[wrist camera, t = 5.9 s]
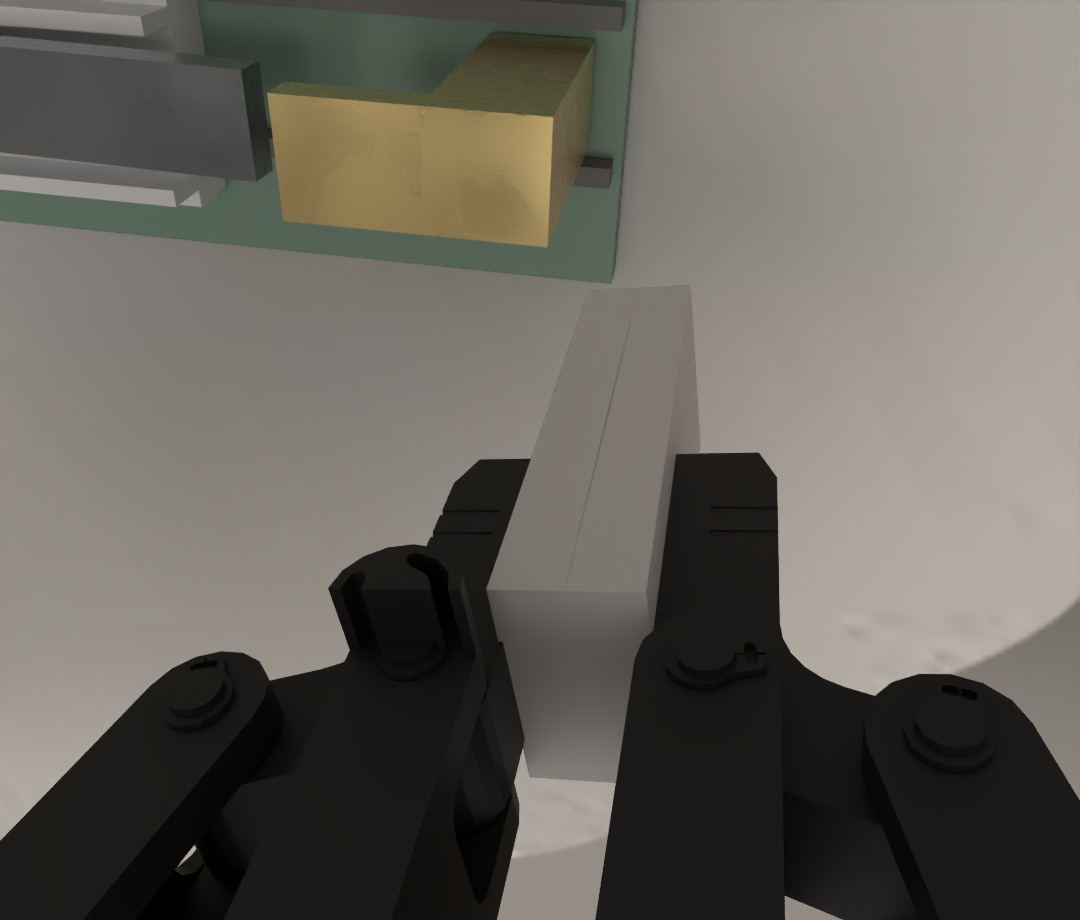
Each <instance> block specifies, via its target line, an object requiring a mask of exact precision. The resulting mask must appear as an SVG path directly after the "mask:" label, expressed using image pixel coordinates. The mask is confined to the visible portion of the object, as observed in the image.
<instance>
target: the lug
mask: <svg viewBox="0 0 1080 920" xmlns="http://www.w3.org/2000/svg"><path fill="white" fill-rule="evenodd" d="M595 41H596V40H593V39H579V38H566V37H553V36H539V35H526V34H512V33H499V32H491V33H490V34H489V35H488V36H487V37H486V38H485V39H484V40H483V41H482V42H481V43H480V44H479V45H478V46H477V47H476V48H475V49H474V50H473V51H472V52H471V53H470V54H469V55H468V56H467V57H466V58H465V59H464V60H463V61H462V62H461V63H460V64H459V65H458V66H457V67H456V68H455V69H454V70H453V71H452V72H451V73H450V74H449V75H448V76H447V78H446V79H445V80H444V81H443V82H442V83H441V84H440V85H439V86H438V87H437V88H436V89H435V90H434V91H433V92H432V93H431V94H425V93H413V92H401V91H389V90H377V89H364V88H352V87H340V86H328V85H316V84H304V83H292V82H283V83H282V84H280V85H279V86H277V87H276V88H274V89H273V90H271V91H270V92H268V93H267V95H268V103H269V111H270V119H271V127H272V135H273V144H274V152H275V160H276V168H277V176H278V184H279V192H280V200H281V209H282V217H283V221H288V222H298V223H308V224H318V225H328V226H338V227H348V228H358V229H368V230H378V231H388V232H398V233H408V234H418V235H428V236H438V237H448V238H458V239H468V240H478V241H488V242H498V243H508V244H518V245H528V246H538V247H548V245H549V243H550V240H551V238H552V235H553V233H554V230H555V228H556V226H557V223H558V221H559V218H560V216H561V213H562V211H563V208H564V206H565V203H566V201H567V199H568V196H569V194H570V191H571V189H572V186H573V184H574V181H575V179H576V176H577V174H578V171H579V169H580V167H581V164H582V162H583V159H584V157H585V154H586V152H587V149H588V147H589V134H590V118H591V103H592V87H593V72H594V56H595Z"/></svg>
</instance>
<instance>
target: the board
mask: <svg viewBox="0 0 1080 920" xmlns="http://www.w3.org/2000/svg"><path fill="white" fill-rule="evenodd" d="M637 7H638V0H0V36H8V37H19V38H29V39H40V40H50V41H61V42H71V43H82V44H92V45H103V46H113V47H123V48H134V49H144V50H155V51H165V52H176V53H186V54H197V55H207V56H218V57H228V58H239V59H249V60H259V62H260V70H261V78H262V86H263V94H264V102H265V110H266V118H267V126H268V134H269V142H270V150H271V158H272V166H273V170H272V171H271V172H270V173H268V174H267V175H265V176H264V177H263V178H261V179H260V180H259V181H257V182H250V181H242V180H233V179H225V178H216V177H208V176H199V175H190V174H182V173H173V172H165V171H156V170H148V169H139V168H130V167H122V166H113V165H105V164H96V163H88V162H79V161H71V160H62V159H53V158H45V157H36V156H28V155H19V154H11V153H2V152H0V221H10V222H20V223H29V224H39V225H49V226H58V227H68V228H78V229H87V230H97V231H107V232H116V233H126V234H136V235H145V236H155V237H165V238H174V239H184V240H194V241H203V242H213V243H222V244H232V245H242V246H251V247H261V248H271V249H280V250H290V251H300V252H309V253H319V254H329V255H338V256H348V257H358V258H367V259H377V260H387V261H396V262H406V263H416V264H425V265H435V266H445V267H454V268H464V269H474V270H483V271H493V272H502V273H512V274H522V275H531V276H541V277H551V278H560V279H570V280H580V281H589V282H599V283H609V284H611V283H612V279H613V275H614V271H615V262H616V251H617V239H618V227H619V216H620V204H621V193H622V181H623V169H624V158H625V146H626V135H627V123H628V112H629V100H630V88H631V77H632V65H633V54H634V42H635V30H636V19H637ZM491 32H499V33H512V34H526V35H539V36H553V37H566V38H579V39H593V40H596V41H595V56H594V72H593V87H592V103H591V118H590V134H589V147H588V149H587V152H586V154H585V157H584V159H583V162H582V164H581V167H580V169H579V171H578V174H577V176H576V179H575V181H574V184H573V186H572V189H571V191H570V194H569V196H568V199H567V201H566V203H565V206H564V208H563V211H562V213H561V216H560V218H559V221H558V223H557V226H556V228H555V230H554V233H553V235H552V238H551V240H550V243H549V245H548V247H538V246H528V245H518V244H508V243H498V242H488V241H478V240H468V239H458V238H448V237H438V236H428V235H418V234H408V233H398V232H388V231H378V230H368V229H358V228H348V227H338V226H328V225H318V224H308V223H298V222H288V221H283V217H282V209H281V200H280V192H279V184H278V176H277V168H276V160H275V152H274V144H273V135H272V127H271V119H270V111H269V103H268V95H267V93H268V92H270V91H271V90H273V89H274V88H276V87H277V86H279V85H280V84H282V83H283V82H292V83H304V84H316V85H328V86H340V87H352V88H364V89H377V90H389V91H401V92H413V93H425V94H431V93H432V92H433V91H434V90H435V89H436V88H437V87H438V86H439V85H440V84H441V83H442V82H443V81H444V80H445V79H446V78H447V76H448V75H449V74H450V73H451V72H452V71H453V70H454V69H455V68H456V67H457V66H458V65H459V64H460V63H461V62H462V61H463V60H464V59H465V58H466V57H467V56H468V55H469V54H470V53H471V52H472V51H473V50H474V49H475V48H476V47H477V46H478V45H479V44H480V43H481V42H482V41H483V40H484V39H485V38H486V37H487V36H488V35H489V34H490V33H491Z"/></svg>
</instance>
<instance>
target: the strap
mask: <svg viewBox="0 0 1080 920" xmlns="http://www.w3.org/2000/svg"><path fill="white" fill-rule="evenodd" d="M0 152H2V153H11V154H19V155H28V156H36V157H45V158H53V159H62V160H71V161H79V162H88V163H96V164H105V165H113V166H122V167H130V168H139V169H148V170H156V171H165V172H173V173H182V174H190V175H199V176H208V177H216V178H225V179H233V180H242V181H250V182H257V181H259V180H260V179H261V178H263V177H264V176H265V175H267V174H268V173H270V172H271V171H272V170H273V166H272V158H271V150H270V142H269V134H268V126H267V118H266V110H265V102H264V94H263V86H262V78H261V70H260V62H259V60H249V59H239V58H228V57H218V56H207V55H197V54H186V53H176V52H165V51H155V50H144V49H134V48H123V47H113V46H103V45H92V44H82V43H71V42H61V41H50V40H40V39H29V38H19V37H8V36H0Z"/></svg>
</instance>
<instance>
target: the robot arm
mask: <svg viewBox="0 0 1080 920" xmlns="http://www.w3.org/2000/svg"><path fill="white" fill-rule="evenodd" d="M699 450H700V431H699V415H698V399H697V383H696V368H695V352H694V336H693V320H692V305H691V289H690V285H682V286H664V287H646V288H628V289H610V290H592V291H588V293H587V296H586V299H585V302H584V305H583V308H582V311H581V313H580V316H579V319H578V322H577V325H576V328H575V331H574V334H573V337H572V340H571V343H570V346H569V349H568V352H567V355H566V357H565V360H564V363H563V366H562V369H561V372H560V375H559V378H558V381H557V384H556V387H555V390H554V393H553V396H552V399H551V401H550V404H549V407H548V410H547V413H546V416H545V419H544V422H543V425H542V428H541V431H540V434H539V437H538V440H537V443H536V445H535V448H534V451H533V454H532V457H531V459H486V460H479V461H478V462H477V463H476V464H474V465H473V466H472V467H471V468H470V469H469V470H468V471H467V472H466V473H465V474H464V475H463V476H461V477H460V478H459V479H458V480H457V481H456V482H455V483H454V485H453V487H452V489H451V492H450V494H449V496H448V498H447V501H446V503H445V505H444V508H443V515H440V517H439V519H438V521H437V524H436V526H435V528H434V530H433V537H430V540H429V542H428V544H427V546H421V545H414V544H413V545H404V546H396V547H388V548H385V549H383V550H380V551H377V552H375V553H372V554H369V555H366V556H364V557H362V558H361V559H359V560H358V561H356V562H355V563H353V564H352V565H350V566H349V567H347V568H346V569H344V570H343V571H342V572H341V573H340V574H339V576H338V577H337V578H336V579H335V580H334V582H333V583H332V584H331V585H330V587H329V588H328V589H329V592H330V595H331V598H332V600H333V603H334V606H335V609H336V612H337V615H338V617H339V620H340V623H341V626H342V629H343V632H344V635H345V637H346V640H347V643H348V646H349V649H350V651H349V653H348V656H347V658H346V660H345V662H343V663H340V664H337V665H334V666H331V667H327V668H324V669H321V670H316V671H312V672H307V673H302V674H298V675H293V676H289V677H284V678H280V679H275V680H271V681H269V679H268V676H267V674H266V672H265V671H264V669H263V667H262V665H261V663H260V662H259V661H258V660H256V659H254V658H252V657H250V656H248V655H246V654H244V653H237V652H223V651H221V652H216V653H212V654H207V655H203V656H198V657H195V658H193V659H191V660H189V661H187V662H185V663H183V664H181V665H178V666H176V667H174V668H172V669H171V670H170V671H168V672H167V673H166V674H165V675H163V676H162V677H161V678H160V679H158V680H157V681H156V682H155V683H153V684H152V685H151V686H150V687H149V688H148V689H147V690H146V691H145V692H144V693H143V694H142V695H141V696H140V697H139V698H138V699H137V700H136V701H135V702H134V703H133V704H132V705H131V706H130V707H129V709H128V710H127V711H126V712H125V713H124V714H123V715H122V716H121V717H120V718H119V719H118V720H117V721H116V722H115V723H114V724H113V725H112V726H111V727H110V728H109V729H108V730H107V731H106V732H105V733H104V734H103V735H102V736H101V737H100V738H99V740H98V741H97V742H96V743H95V744H94V745H93V746H92V747H91V748H90V749H89V750H88V751H87V752H86V753H85V754H84V755H83V756H82V757H81V758H80V759H79V760H78V761H77V762H76V763H75V764H74V765H73V766H72V767H71V768H70V769H69V770H68V772H67V773H66V774H65V775H64V776H63V777H62V778H61V779H60V780H59V781H58V782H57V783H56V784H55V785H54V786H53V787H52V788H51V789H50V790H49V791H48V792H47V793H46V794H45V795H44V796H43V797H42V798H41V799H40V800H39V801H38V802H37V804H36V805H35V806H34V807H33V808H32V809H31V810H30V811H29V812H28V813H27V814H26V815H25V816H24V817H23V818H22V819H21V820H20V821H19V822H18V823H17V824H16V825H15V826H14V827H13V828H12V829H11V830H10V831H9V832H8V833H7V834H6V836H5V837H4V838H3V839H2V840H1V841H0V920H497V916H498V912H499V908H500V904H501V899H502V895H503V891H504V886H505V882H506V878H507V873H508V869H509V865H510V860H511V856H512V852H513V847H514V843H515V838H516V834H517V830H518V825H519V801H518V797H517V793H516V789H515V785H514V780H515V776H516V772H517V768H518V764H519V760H520V756H521V752H522V748H523V750H524V754H525V758H526V763H527V767H528V771H529V776H530V777H535V778H550V779H566V780H581V781H596V782H612V783H616V786H615V793H614V799H613V806H612V813H611V819H610V826H609V833H608V839H607V846H606V853H605V859H604V866H603V873H602V879H601V887H600V893H599V900H598V906H597V913H596V920H785V899H784V898H785V897H784V896H787V897H790V898H792V899H795V900H797V901H799V902H802V903H804V904H807V905H809V906H812V907H814V908H816V909H819V910H821V911H824V912H826V913H828V914H831V915H834V916H836V917H838V918H840V919H843V920H1080V800H1079V799H1078V797H1077V796H1076V794H1075V792H1074V790H1073V789H1072V787H1071V785H1070V784H1069V782H1068V781H1067V779H1066V777H1065V776H1064V774H1063V772H1062V771H1061V769H1060V767H1059V766H1058V764H1057V763H1056V761H1055V759H1054V758H1053V756H1052V754H1051V753H1050V751H1049V750H1048V748H1047V746H1046V745H1045V743H1044V741H1043V740H1042V738H1041V736H1040V735H1039V733H1038V732H1037V730H1036V728H1035V726H1034V725H1033V723H1032V722H1031V721H1030V720H1029V719H1028V718H1027V717H1026V716H1025V714H1024V713H1023V712H1022V711H1021V710H1020V709H1019V708H1018V707H1017V705H1016V704H1015V703H1014V702H1013V701H1012V700H1011V699H1009V698H1007V697H1006V696H1004V695H1002V694H1001V693H999V692H997V691H995V690H994V689H992V688H990V687H989V686H987V685H985V684H983V683H980V682H976V681H973V680H970V679H966V678H962V677H959V676H955V675H951V674H918V675H914V676H911V677H908V678H904V679H901V680H898V681H895V682H892V683H890V684H889V685H888V686H887V687H885V688H884V689H883V690H882V691H881V692H879V693H878V694H877V695H876V696H873V695H870V694H866V693H863V692H860V691H856V690H853V689H850V688H846V687H843V686H841V685H838V684H836V683H833V682H831V681H828V680H826V679H823V678H821V677H820V676H818V675H817V674H815V673H814V672H812V671H810V670H809V669H807V668H806V667H804V666H803V665H802V664H801V663H800V662H799V661H798V660H797V659H796V658H795V657H794V656H793V655H792V654H791V652H790V650H789V649H788V647H787V645H786V643H785V641H784V640H783V637H782V632H781V627H780V610H779V557H778V505H777V477H776V476H775V474H774V473H773V471H772V470H771V469H770V467H769V466H768V465H767V463H766V462H765V461H764V459H763V458H762V456H761V455H760V454H759V453H707V454H699ZM194 845H195V847H196V850H195V851H194V853H193V854H192V855H191V856H190V857H189V858H188V859H187V860H186V861H184V862H183V863H182V864H181V865H180V866H178V865H179V863H180V862H181V861H182V860H183V858H184V857H185V856H186V855H187V853H188V852H189V851H190V850H191V848H192V847H193V846H194Z"/></svg>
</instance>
